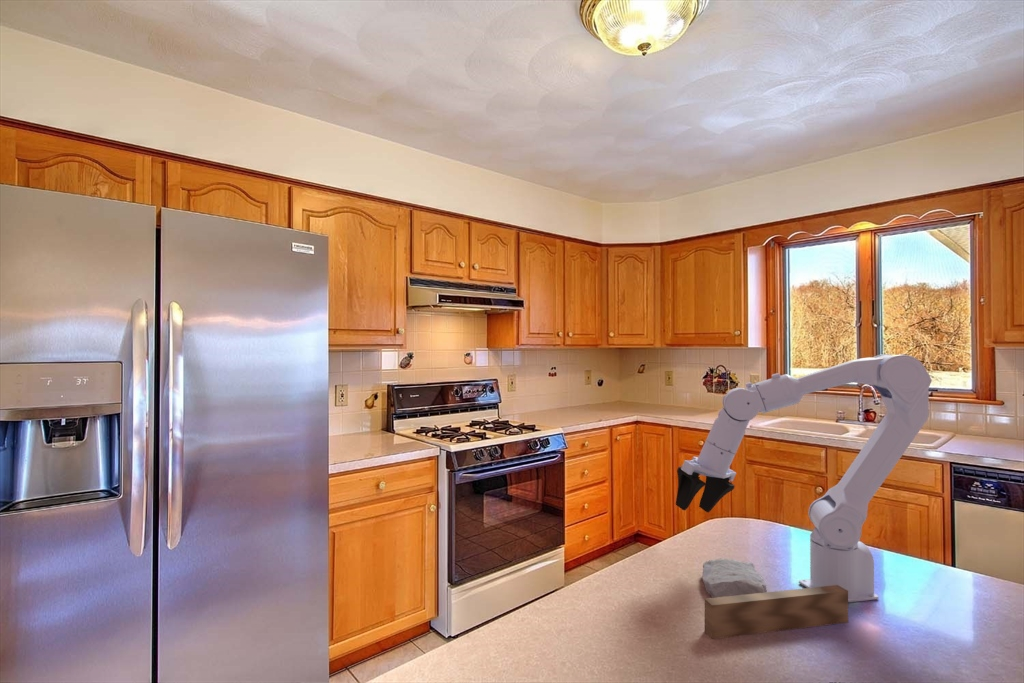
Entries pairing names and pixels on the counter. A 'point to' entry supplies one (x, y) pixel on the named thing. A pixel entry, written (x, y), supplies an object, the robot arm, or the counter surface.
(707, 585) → the stone block
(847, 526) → the robot arm
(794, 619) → the walnut wall
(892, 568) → the counter surface
